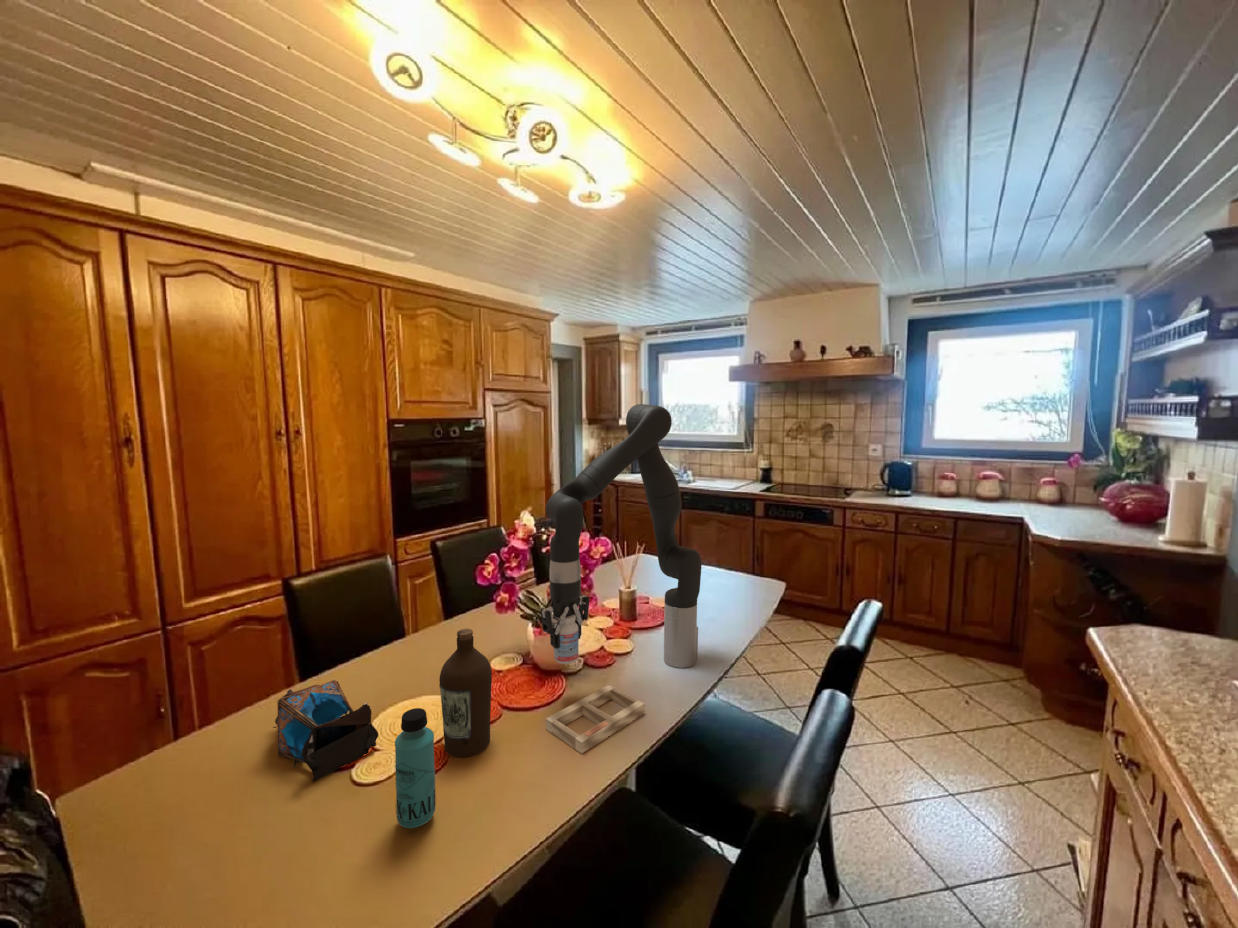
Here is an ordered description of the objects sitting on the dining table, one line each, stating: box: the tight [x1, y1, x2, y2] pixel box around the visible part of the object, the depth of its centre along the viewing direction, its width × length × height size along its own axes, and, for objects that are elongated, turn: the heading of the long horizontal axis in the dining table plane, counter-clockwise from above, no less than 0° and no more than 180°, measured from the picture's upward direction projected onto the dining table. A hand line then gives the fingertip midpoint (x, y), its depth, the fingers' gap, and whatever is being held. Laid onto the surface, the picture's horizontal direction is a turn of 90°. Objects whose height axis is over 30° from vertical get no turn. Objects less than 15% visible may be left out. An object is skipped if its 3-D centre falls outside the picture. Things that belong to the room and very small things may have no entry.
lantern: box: [272, 679, 379, 783], centre depth 108 cm, size 16×16×25 cm
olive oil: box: [438, 628, 493, 758], centre depth 108 cm, size 11×11×25 cm
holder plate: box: [545, 684, 646, 754], centre depth 118 cm, size 20×12×3 cm, turn 136°
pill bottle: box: [553, 614, 580, 665], centre depth 126 cm, size 6×6×11 cm
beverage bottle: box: [394, 707, 437, 829], centre depth 87 cm, size 6×7×20 cm
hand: (566, 642), depth 126 cm, fingers closed on pill bottle, 6 cm apart
